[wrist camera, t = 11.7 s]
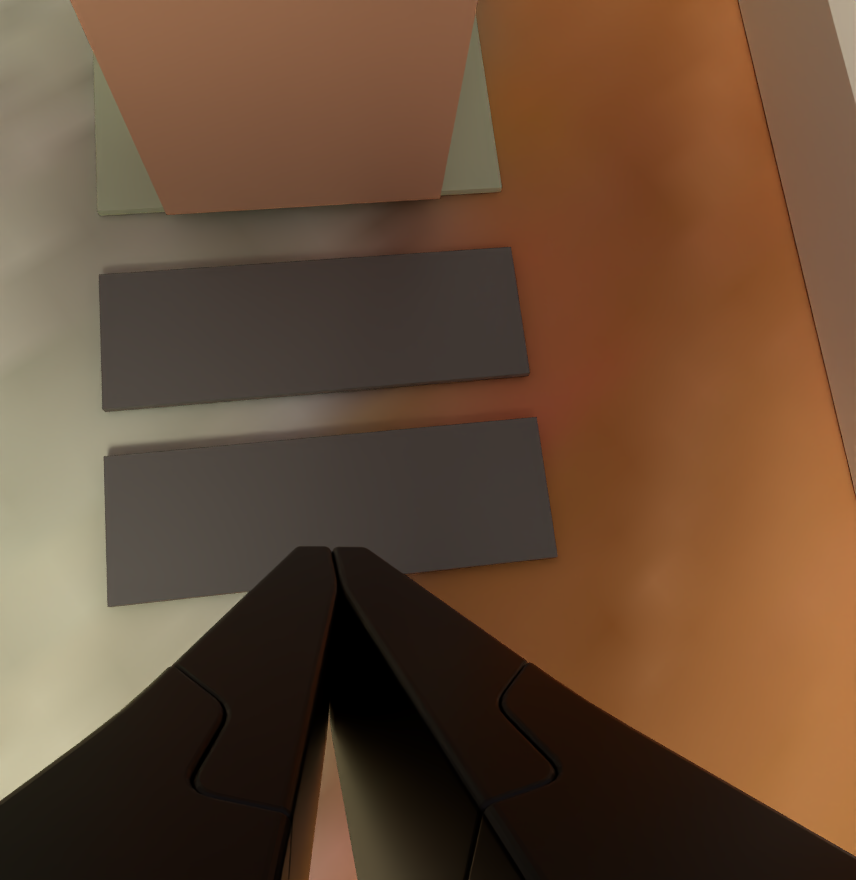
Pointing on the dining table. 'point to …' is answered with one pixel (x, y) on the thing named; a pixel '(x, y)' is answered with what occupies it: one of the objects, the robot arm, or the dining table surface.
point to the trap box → (408, 353)
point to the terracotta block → (284, 96)
